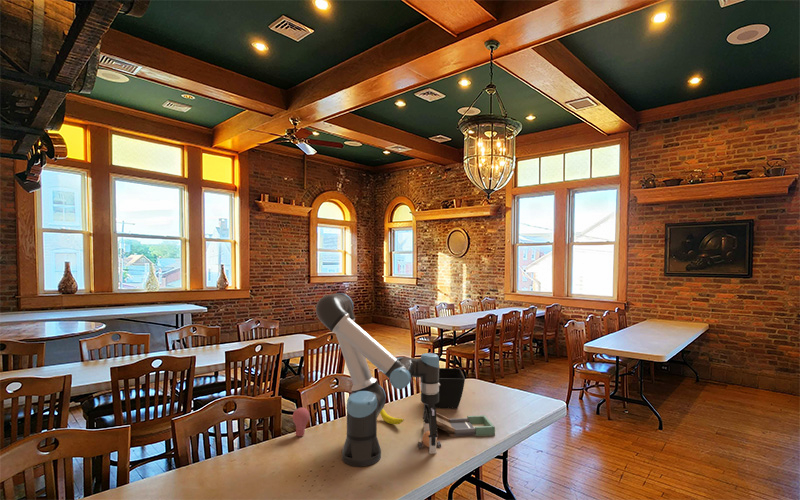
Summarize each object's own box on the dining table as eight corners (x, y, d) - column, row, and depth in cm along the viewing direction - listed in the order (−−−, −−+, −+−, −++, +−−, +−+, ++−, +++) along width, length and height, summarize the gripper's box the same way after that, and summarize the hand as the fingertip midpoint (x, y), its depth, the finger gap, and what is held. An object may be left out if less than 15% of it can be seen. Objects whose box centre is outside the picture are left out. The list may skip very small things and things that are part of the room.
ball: (423, 450, 156) (423, 434, 156) (421, 443, 162) (421, 428, 162) (438, 449, 156) (438, 434, 157) (435, 442, 162) (435, 428, 163)
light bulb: (312, 435, 168) (312, 407, 169) (298, 441, 163) (298, 412, 163) (303, 431, 173) (303, 403, 174) (289, 436, 168) (289, 408, 168)
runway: (454, 436, 168) (454, 429, 169) (448, 424, 180) (448, 418, 180) (476, 435, 170) (476, 428, 170) (468, 424, 182) (468, 417, 182)
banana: (401, 431, 173) (401, 417, 173) (376, 418, 188) (376, 405, 188) (406, 429, 175) (406, 415, 175) (381, 416, 190) (381, 403, 190)
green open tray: (475, 435, 169) (475, 427, 169) (467, 423, 182) (467, 416, 182) (494, 435, 170) (494, 426, 170) (485, 422, 183) (485, 415, 183)
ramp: (429, 437, 167) (429, 418, 168) (424, 425, 179) (424, 408, 179) (456, 436, 169) (456, 417, 169) (450, 424, 181) (450, 407, 181)
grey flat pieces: (419, 448, 157) (419, 445, 157) (418, 445, 160) (418, 442, 160) (441, 447, 158) (441, 444, 158) (439, 444, 161) (439, 441, 161)
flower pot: (465, 411, 197) (465, 378, 198) (428, 411, 197) (428, 377, 198) (460, 398, 216) (460, 368, 217) (426, 398, 216) (426, 367, 217)
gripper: (445, 401, 149) (445, 459, 148) (433, 382, 172) (433, 432, 171) (426, 402, 148) (426, 460, 147) (416, 383, 171) (416, 433, 171)
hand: (429, 445), depth 159 cm, fingers open, 11 cm apart
